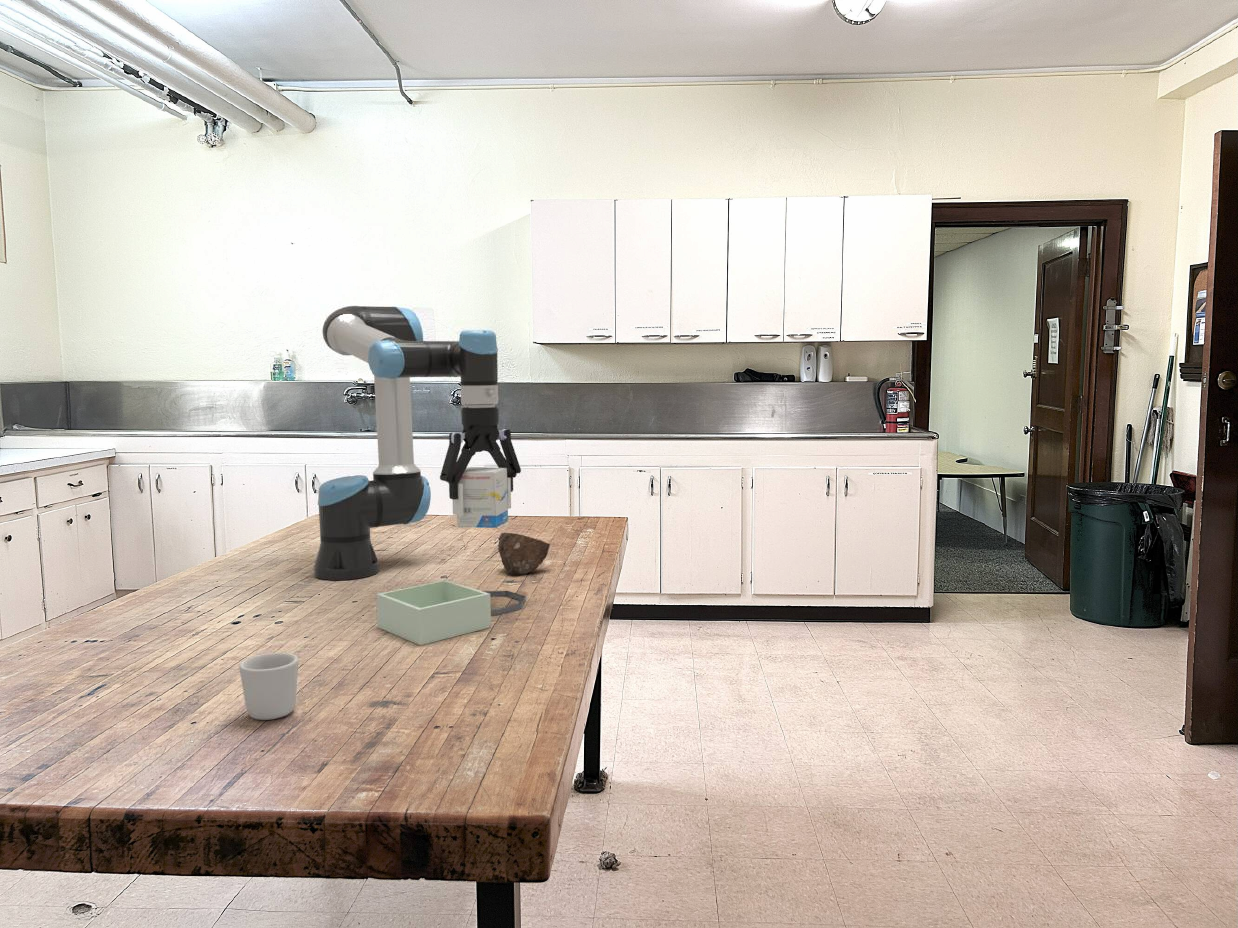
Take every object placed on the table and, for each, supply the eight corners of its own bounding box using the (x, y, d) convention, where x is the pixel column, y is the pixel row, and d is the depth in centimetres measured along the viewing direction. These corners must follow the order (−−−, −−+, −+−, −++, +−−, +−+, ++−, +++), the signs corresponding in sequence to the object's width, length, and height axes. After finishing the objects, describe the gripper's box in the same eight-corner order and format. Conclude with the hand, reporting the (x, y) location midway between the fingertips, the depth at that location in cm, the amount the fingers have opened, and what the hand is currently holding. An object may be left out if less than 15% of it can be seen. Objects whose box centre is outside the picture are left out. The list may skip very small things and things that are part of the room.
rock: (549, 548, 220) (551, 532, 211) (540, 586, 215) (541, 571, 206) (501, 536, 220) (501, 520, 211) (490, 574, 215) (490, 559, 206)
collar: (434, 604, 187) (434, 600, 187) (495, 591, 197) (495, 586, 197) (477, 619, 175) (477, 614, 175) (538, 604, 186) (538, 600, 186)
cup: (258, 697, 135) (255, 646, 134) (311, 695, 136) (309, 645, 135) (234, 725, 125) (230, 671, 124) (292, 723, 125) (289, 669, 124)
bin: (377, 627, 171) (376, 593, 170) (446, 611, 182) (445, 579, 181) (420, 645, 160) (418, 609, 159) (491, 627, 170) (490, 593, 170)
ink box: (509, 521, 187) (508, 466, 186) (496, 528, 179) (494, 471, 178) (470, 520, 189) (469, 465, 188) (456, 527, 181) (454, 470, 179)
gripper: (440, 409, 170) (443, 520, 173) (536, 404, 187) (538, 506, 189) (419, 408, 176) (423, 516, 178) (514, 403, 192) (517, 502, 194)
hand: (482, 511), depth 184 cm, fingers closed on ink box, 11 cm apart
